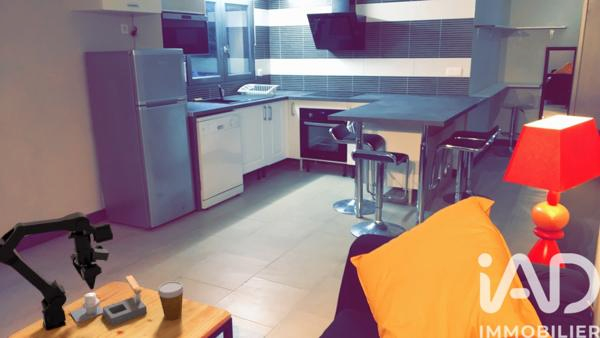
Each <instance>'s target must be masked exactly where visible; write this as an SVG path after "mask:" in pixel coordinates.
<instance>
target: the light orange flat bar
mask: <svg viewBox="0 0 600 338" xmlns="http://www.w3.org/2000/svg"><path fill="white" fill-rule="evenodd" d="M125 280H126V282H127V284H129V285H128V286H129V287H130V289H131V290H132V291H133V293H134V294H135V295H136V294H137V293H140V294H141V292H142V289H141V286H140V285H139V283H138V282H137V281H136V279H135V278H134V277H133V275H127V276H125Z"/></svg>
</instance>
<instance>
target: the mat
mask: <svg viewBox="0 0 600 338" xmlns="http://www.w3.org/2000/svg"><path fill="white" fill-rule="evenodd" d="M97 310H98V311H97V312H96V313H94V314H87V313H86V308H83V307H81V308H78V309H74V310H70V311H69V314H70V315H71V317H72V318H73V320H74V321H75V322H76V324H78V323H80V322H84V321H87V320H89V319H92V318H95V317H98V316H101V315H104V314H103V308H102V307H101V306H100V304H99V305H98V306H97Z"/></svg>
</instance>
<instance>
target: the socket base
mask: <svg viewBox="0 0 600 338" xmlns="http://www.w3.org/2000/svg"><path fill="white" fill-rule="evenodd" d="M102 310H103V314H102V315H103V316H104V317H105V318H106V320H107V321H108V322H109V324H110V325H111V326H115V325H118V324H121V323H123V322H124V323H125V322H127V321H129V320H132V319H134V318H138V317H141V316H142V315H143V316H144V315H146V314H147V313H148V312H147V306H146V304H145V303H144V302H143V301H142V299H141V292H140V293H137V294H136V293H135V296H132V297H130V298H126V299H123V300H120V301H118V302H115V303H112V304H109V305H106V306H103V307H102Z"/></svg>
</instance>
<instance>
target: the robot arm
mask: <svg viewBox="0 0 600 338" xmlns="http://www.w3.org/2000/svg"><path fill="white" fill-rule="evenodd" d="M60 231H62V232H63V231H66V232H67V234H66V237H67V238H68V239H72V240H73V247H74V248H73V253H72V254H71V255H70V256H69V257H70V258H69V259H70V262H71V264H72V266H73V267H74V269H75V270H76V272H77V273H78V275H79V277H80V278H81V280H82V281H84V282H85V284H86V285H87V287H88V289H90V290H94V288H95V283H96V279H97V276H99V275H101V274H102V273H103V270H102V267H101V266H100V265H99V264H97V263H96V262H97V260H98V261H104V262H105V261H106V262H107V261H108V260H109V255H110V251H109V250H107V249H106V248H103V246H102V245H101V244H102V243H105V242H110V241H113V240H114V235H113V234H114V233H113V232H112V231H113V230H112V228H111V224H110V223H109V222H105V223H103V224H98V225H94V224H93V223H92V222H90V219H89V218H88V216H87V215H86V214H85V213H83V212H82V211H81V212H80V211H78V212H77V211H76V212H72V213H69V214H67V215H65V216H63V217H60V218H52V219H51V218H50V219H44V220H37V221H36V220H35V221H28V222H18V223H16V224H14V226H13V227H12V228H11V229H9V230H8V231H7V232H5V233H4V234H3V235H2V236H1V237H0V263H1V264H3V265H5V266H9V267H10V268H12V269H13V270H15V271H16V272H17V274H19V275H20V276H21V277H23V278H24V279H25V280H26V281H27V282H29V284H31V285H32V286H33V287H34V288H36V290H38V291H39V292H40V293H41V295H42V296H43V298H42V299H41V301H40V304H41V306H42V310H41V314H42V320H43V321H42V325H43V327H44V329H45V331H46V332H48V331H51V330H55V329H57V328H59V327H63V326H65V325H66V324H67V323H66V321H67V319H66V311H65V309H64V308H63V307H64V305H65V304H66V302H67V294H66V291H65V287H64V286H63V285H61V284H59V282H58V281H57V280H56V279H54V280H53V282H52V281H49V280H48V279H46V278H45V277H44V276H43V275H42V274H41V273H39V272H38V271H37V270H36V269H35V268H34V267H33V266H32V265H31V264H29V263H28V262H27V261H26V260H25V259H23V258H22V257H21V256H20V254H19V253H18V251H17V250H16V248H17V247H18V245H19V244H20V243H21V241H22V239H24V238H25V237H26V236H32V235H38V234H48V233H53V232H60ZM92 242H95V243H96V246H95V247H93V246H92ZM100 243H101V244H100Z"/></svg>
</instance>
